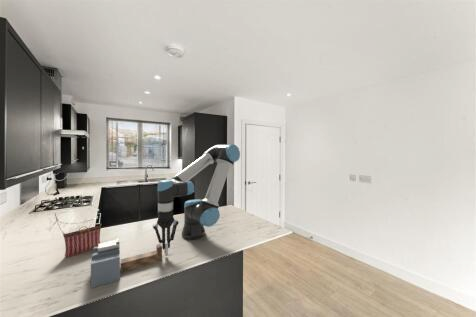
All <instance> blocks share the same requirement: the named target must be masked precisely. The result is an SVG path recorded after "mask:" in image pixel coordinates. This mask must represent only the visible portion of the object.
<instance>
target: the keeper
mask: <svg viewBox="0 0 476 317" xmlns="http://www.w3.org/2000/svg"><path fill="white" fill-rule="evenodd" d="M119 245H120V237H116V239H115V240H109V241H105V242H100V243H99V245H98V253H102V252H107V251H111V250H116V249H120V246H119ZM120 250H121V249H120Z"/></svg>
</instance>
